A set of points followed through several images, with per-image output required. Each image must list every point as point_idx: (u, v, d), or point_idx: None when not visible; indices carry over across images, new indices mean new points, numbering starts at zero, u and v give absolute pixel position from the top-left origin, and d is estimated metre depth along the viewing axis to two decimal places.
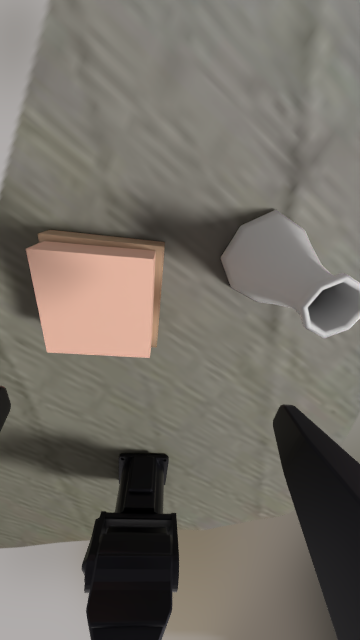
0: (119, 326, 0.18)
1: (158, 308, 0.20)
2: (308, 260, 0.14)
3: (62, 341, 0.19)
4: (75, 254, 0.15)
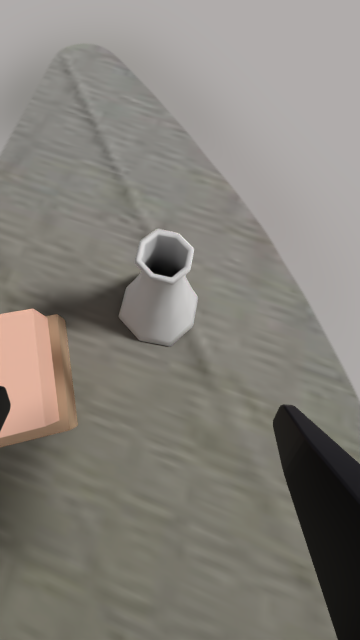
0: None
1: (62, 376, 0.19)
2: (155, 259, 0.17)
3: None
4: None
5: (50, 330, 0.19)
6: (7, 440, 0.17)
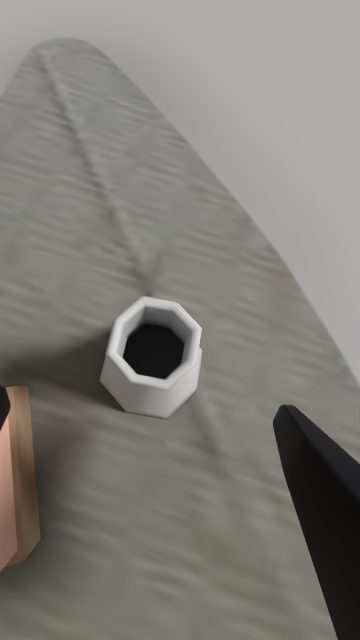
0: None
1: (16, 478, 0.13)
2: (144, 323, 0.12)
3: None
4: None
5: None
6: None
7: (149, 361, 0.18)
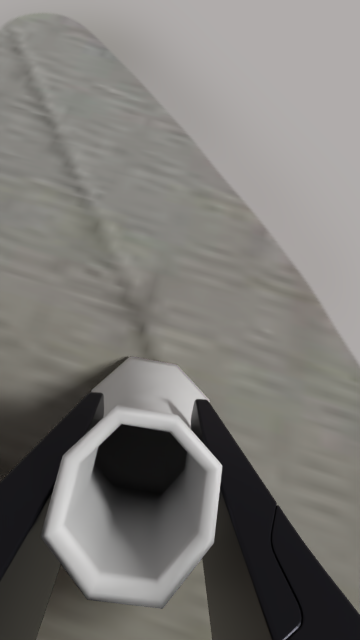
0: None
1: None
2: (129, 402, 0.08)
3: None
4: None
5: None
6: None
7: None
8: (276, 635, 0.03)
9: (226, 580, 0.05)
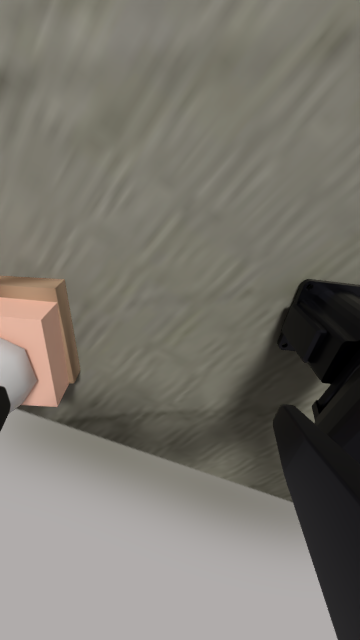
0: None
1: None
2: None
3: (40, 393, 0.18)
4: None
5: None
6: None
7: None
8: None
9: None
